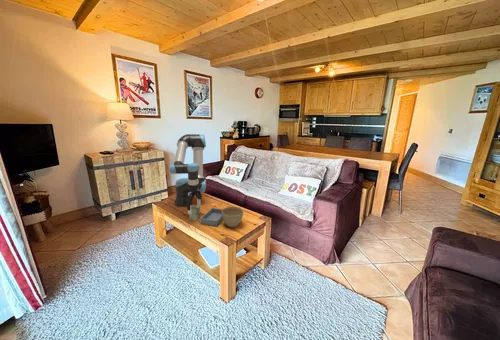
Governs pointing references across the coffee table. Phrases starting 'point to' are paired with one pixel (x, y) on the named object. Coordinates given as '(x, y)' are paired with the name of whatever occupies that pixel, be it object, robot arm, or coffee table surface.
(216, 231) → the coffee table surface
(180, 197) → the robot arm
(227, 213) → the planter bowl
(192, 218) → the olive block
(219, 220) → the bin
